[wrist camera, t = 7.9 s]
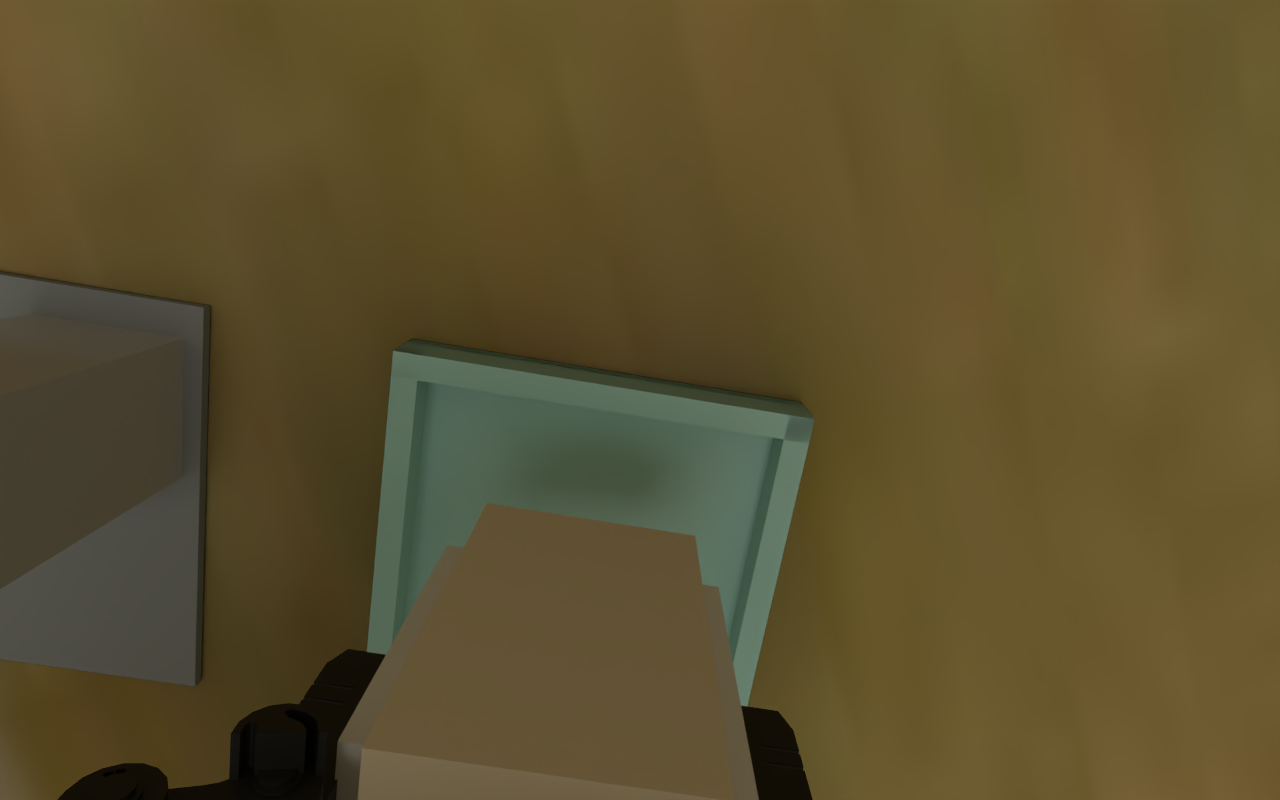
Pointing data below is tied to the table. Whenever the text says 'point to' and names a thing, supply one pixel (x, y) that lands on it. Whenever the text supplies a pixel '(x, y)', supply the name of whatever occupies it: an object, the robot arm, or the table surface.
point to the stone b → (81, 430)
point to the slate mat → (122, 524)
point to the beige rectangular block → (557, 672)
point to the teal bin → (584, 471)
